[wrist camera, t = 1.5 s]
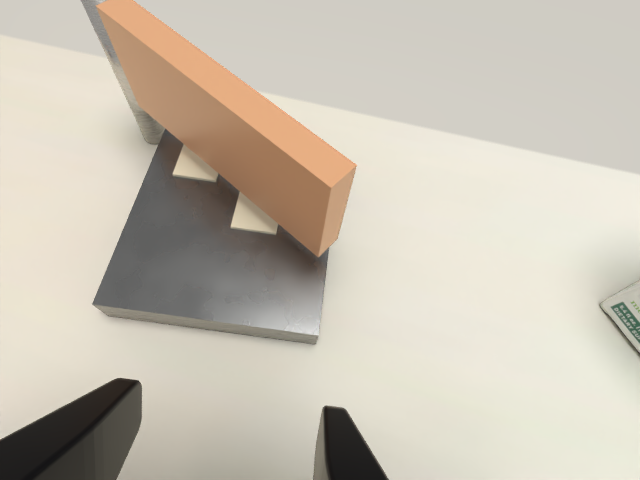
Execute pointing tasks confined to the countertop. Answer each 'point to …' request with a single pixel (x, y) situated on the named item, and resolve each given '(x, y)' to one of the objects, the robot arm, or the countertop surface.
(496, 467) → the countertop surface
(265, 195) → the peach rectangular plank
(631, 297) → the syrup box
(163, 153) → the plate
